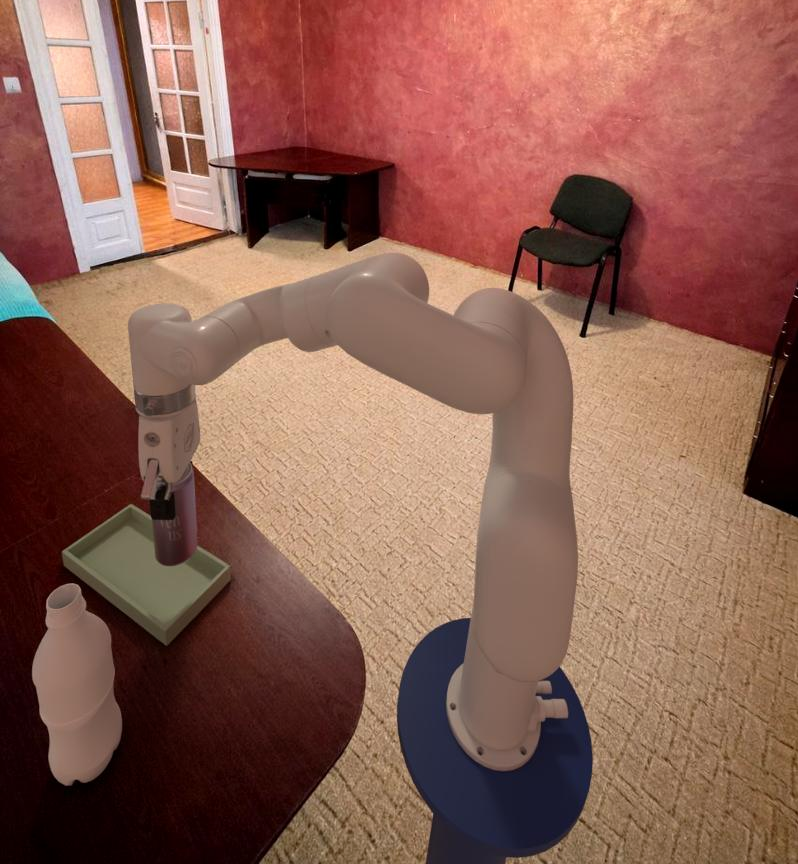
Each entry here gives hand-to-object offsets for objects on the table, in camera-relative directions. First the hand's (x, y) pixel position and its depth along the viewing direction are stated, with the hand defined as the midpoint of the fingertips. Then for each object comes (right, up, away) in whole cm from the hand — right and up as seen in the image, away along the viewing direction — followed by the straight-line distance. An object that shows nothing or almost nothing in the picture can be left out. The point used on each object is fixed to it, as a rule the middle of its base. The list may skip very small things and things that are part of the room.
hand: (173, 499), depth 71 cm
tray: (-9, -17, +9) cm, 21 cm away
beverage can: (-1, -10, +3) cm, 10 cm away
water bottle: (-3, -24, -14) cm, 28 cm away
